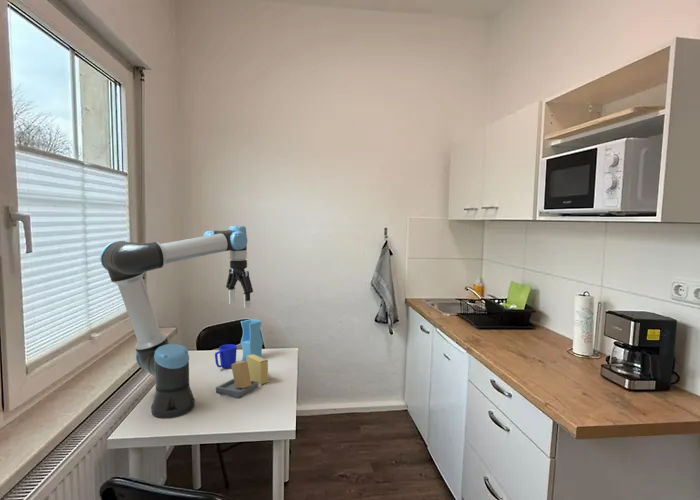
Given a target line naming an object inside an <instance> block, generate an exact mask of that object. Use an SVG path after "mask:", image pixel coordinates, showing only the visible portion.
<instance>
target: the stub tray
mask: <svg viewBox="0 0 700 500" xmlns="http://www.w3.org/2000/svg"><path fill="white" fill-rule="evenodd" d="M251 384H252V385H251V386H249V387H246V388H235V383H234V377H233V378H232V379H230V380H228V381H226V382H224V383H221V384H219V385H218V386H216V387H215V393H216V394H218V395H222V396H225V397H230V398H235V399H240V398H242V397H244V396H246V395H248V394H249V393H252V392H253V391H255V390H256V389H258V388H259V384H258V382H256V381H252V380H251Z"/></svg>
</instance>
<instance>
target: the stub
mask: <svg viewBox="0 0 700 500" xmlns="http://www.w3.org/2000/svg"><path fill="white" fill-rule="evenodd" d="M231 366H232V368H231V370H232V375H233V378H234V383H235V388H246V387H249V386H251V385H252V384H251V381H252V380H251V379H250V374H249V368H248V363H247V361H237V362H236V363H233V364H231Z"/></svg>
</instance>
